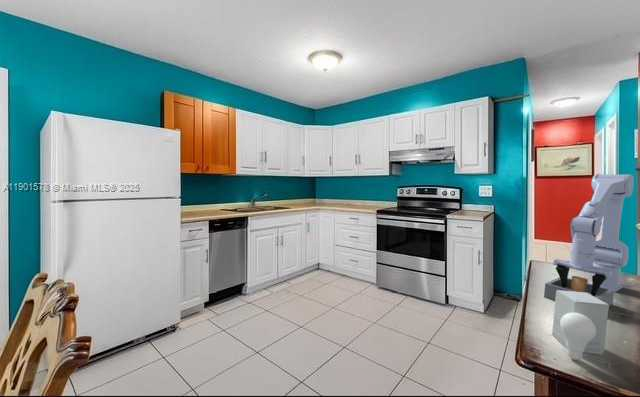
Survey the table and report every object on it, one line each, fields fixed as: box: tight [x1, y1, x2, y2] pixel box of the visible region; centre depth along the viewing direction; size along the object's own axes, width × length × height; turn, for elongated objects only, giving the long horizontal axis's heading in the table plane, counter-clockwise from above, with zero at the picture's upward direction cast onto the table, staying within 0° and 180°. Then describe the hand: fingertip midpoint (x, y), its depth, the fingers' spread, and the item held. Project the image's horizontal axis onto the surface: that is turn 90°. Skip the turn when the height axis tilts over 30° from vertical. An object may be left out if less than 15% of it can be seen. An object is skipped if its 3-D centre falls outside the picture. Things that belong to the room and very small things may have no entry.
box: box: [543, 276, 615, 308], centre depth 96 cm, size 14×14×5 cm
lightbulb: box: [560, 313, 596, 361], centre depth 65 cm, size 6×6×11 cm
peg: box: [571, 275, 589, 293], centre depth 96 cm, size 4×4×8 cm
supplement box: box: [551, 290, 610, 355], centre depth 71 cm, size 7×7×13 cm
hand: (578, 291), depth 96 cm, fingers open, 7 cm apart
